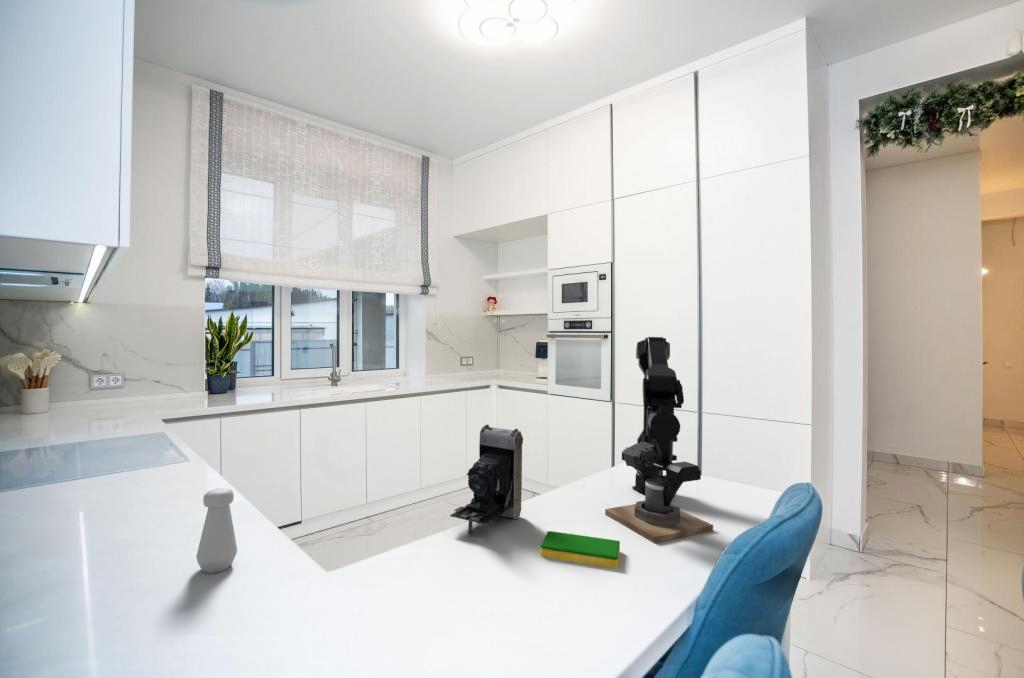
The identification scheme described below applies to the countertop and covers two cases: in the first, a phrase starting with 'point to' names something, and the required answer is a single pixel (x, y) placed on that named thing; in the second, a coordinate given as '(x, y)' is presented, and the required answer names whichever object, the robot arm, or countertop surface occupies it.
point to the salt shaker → (217, 532)
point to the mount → (658, 522)
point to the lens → (655, 496)
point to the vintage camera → (495, 478)
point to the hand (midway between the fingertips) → (657, 501)
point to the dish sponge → (581, 549)
